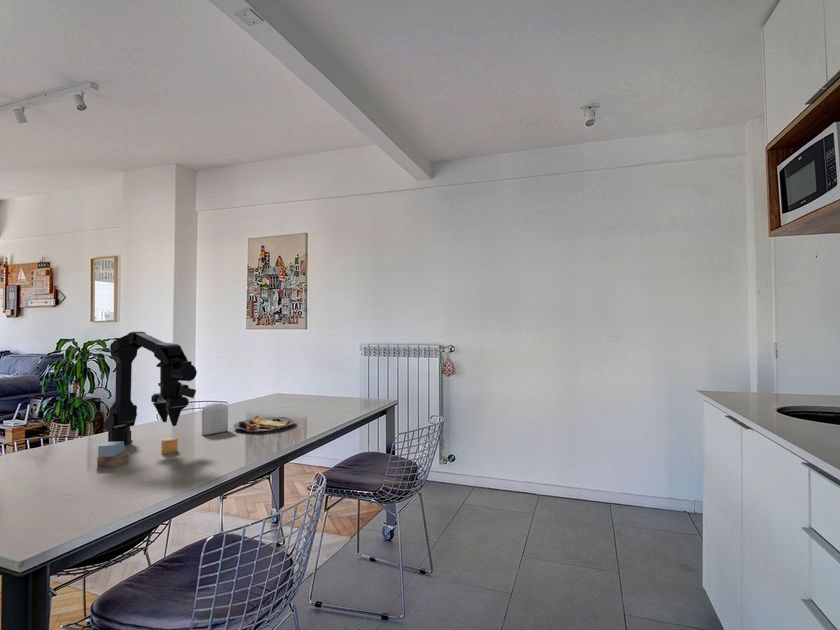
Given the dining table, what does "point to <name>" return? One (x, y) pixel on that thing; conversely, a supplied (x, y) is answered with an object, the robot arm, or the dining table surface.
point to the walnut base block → (112, 460)
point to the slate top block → (111, 449)
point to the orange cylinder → (169, 445)
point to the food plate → (263, 424)
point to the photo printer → (214, 418)
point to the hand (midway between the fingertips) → (169, 423)
